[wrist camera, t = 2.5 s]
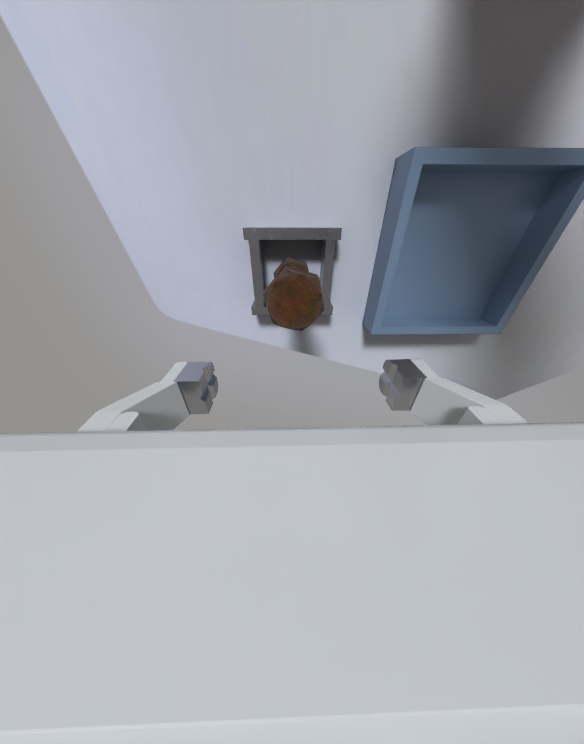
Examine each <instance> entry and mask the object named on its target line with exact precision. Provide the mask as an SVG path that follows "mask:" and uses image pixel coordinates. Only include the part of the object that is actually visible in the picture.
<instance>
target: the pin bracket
mask: <svg viewBox="0 0 584 744" xmlns="http://www.w3.org/2000/svg"><path fill="white" fill-rule="evenodd" d="M341 231H342V228H243V234H244V240H249V245H250V255H251V265H252V275H253V286H254V296H255V301H254V303H253V305H252V315H270V314H269V312H268V309H267V306H266V302H265V299H264V295H263V292H264V290H265V286H264V272H263V257H262V243H261V240H323V243H322V257H321V271H320V285H321V290H322V296H323V302H324V309H325V310H324V311H323V312H322V314H321V315H332V310H333V306H332V304H331V302H330V301H329V300H330V291H331V281H332V271H333V261H334V252H335V242H336V240H341Z"/></svg>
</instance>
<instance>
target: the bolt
mask: <svg viewBox="0 0 584 744" xmlns="http://www.w3.org/2000/svg"><path fill="white" fill-rule="evenodd" d="M274 277H275V279H274V280H273V281H272V282H271V283H270V284H269V285H268V287H267V288H266V289H265V290H264V292H263V295H264V299H265V302H266V306H267V309H268V312H269V314H270V317H271V320H272V322H273V324H276V325H278V326H281V327H284V328H288V329H292V330H304V329H305V328H307V327H308V326H309V325H310V324H312V323H313V322H314V321H315V320H316V319H317V318H318V317H319V316H320V315H321V314H322V312H323V311H324V310H325V309H324V302H323V296H322V290H321V285H320V281H319V277H318V275H316V274H313V273H309V271H308V267H307V263H306V262H303V261H300V260H297V259H293V258H289V257H287V258H286V259H285V260H284V261H283V262H282V264H281V265H280V266H279V267H278V268H277V269H276V271H275V272H274Z"/></svg>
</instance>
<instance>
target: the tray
mask: <svg viewBox="0 0 584 744" xmlns="http://www.w3.org/2000/svg"><path fill="white" fill-rule="evenodd" d="M583 199H584V148H483V147H414V148H413V149H411V150H409V151H408V152H406V153H404V154H403V155H401V156H400V157H398V158H396V161H395V166H394V171H393V176H392V180H391V185H390V190H389V195H388V200H387V205H386V210H385V215H384V220H383V225H382V229H381V234H380V239H379V244H378V249H377V254H376V259H375V264H374V269H373V274H372V279H371V283H370V288H369V293H368V298H367V303H366V308H365V313H364V318H363V325H364V326H365V327H366V329H367V330H368V331H369V333H370V334H371V335H381V334H500V333H501V331H502V330H503V328H504V326H505V325H506V323H507V322H508V320H509V318H510V317H511V315H512V314H513V312H514V310H515V309H516V307H517V305H518V304H519V302H520V301H521V299H522V297H523V296H524V294H525V292H526V291H527V289H528V288H529V286H530V284H531V283H532V281H533V280H534V278H535V276H536V275H537V273H538V271H539V270H540V268H541V267H542V265H543V263H544V262H545V260H546V259H547V257H548V255H549V254H550V252H551V250H552V249H553V247H554V246H555V244H556V242H557V241H558V239H559V237H560V236H561V234H562V233H563V231H564V229H565V228H566V226H567V225H568V223H569V221H570V220H571V218H572V216H573V215H574V213H575V212H576V210H577V208H578V207H579V205H580V204H581V202H582V200H583Z"/></svg>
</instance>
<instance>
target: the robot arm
mask: <svg viewBox="0 0 584 744" xmlns="http://www.w3.org/2000/svg"><path fill="white" fill-rule="evenodd" d="M383 369H384V371H385V372H383V373H382V374H381V376H380V379H379V388H380V391H381V393H382V394H383V395H385V396H386V397H387V398H386V401H387V403H388V405H389V406H390V408H391V410H410V412H412V413H413V414H414V415H416V416H417V417H418V418H420V419H421V420H422V421H424V422H425V423H426V424H428V425H421V426H420V425H419V426H370V427H369V426H366V427H316V428H265V429H264V428H261V429H209V430H208V429H207V430H173V429H174V428H175V427H177V426H178V425H179V424H180V423H181V422H182V421H184V420H185V419H186V418H187V417H188V416H189V414H208V413H209V411H210V409H211V407H212V404H213V401H212V399H213V398H214V397H216V394H217V392H218V381H217V377H215V376H214V375H213V372H214V370H215V369H214V366H213V363H212V362H177V363H176V364H175V365H174V366H173V367H172V369H171V370H170V371H169V372H168V374H167V375H166V376H165V377H164V379H163V380H162V381H161V382H156V383H154V384H152V385H150V386H148V387H146V388H144V389H142V390H140V391H138V392H136V393H134V394H132V395H130V396H128V397H126V398H124V399H122V400H120V401H118V402H116V403H113V404H111V405H109V406H108V407H105V408H103V409H101V410H99V411H97V412H96V413H95V414H94V415H93V416H92V417H91V418H90V419H89V420H88V421H87V422H86V423H85V424H84V425H83V426H82V427H81V428H80V429H79V430H78V431H77V432H46V433H0V744H584V422H578V423H577V422H576V423H531V424H530V423H528V422H527V421H526V420H525V419H524V418H522V417H521V416H520V415H519V414H517V413H516V412H515V411H514V410H513V409H511V408H510V407H509V406H508V405H506V404H504V403H501V402H499V401H497V400H494V399H492V398H490V397H487V396H485V395H482V394H480V393H478V392H475V391H473V390H471V389H468V388H466V387H464V386H461V385H459V384H457V383H454V382H452V381H449V380H447V379H445V378H440V377H439V376H438V375H437V374H436V373H434V372H433V371H432V370H431V369H430V368H429V367H428V366H427V365H426V364H425V363H424V362H423V361H422V360H421V359H398V360H386V361H385V362H384V365H383Z"/></svg>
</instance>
